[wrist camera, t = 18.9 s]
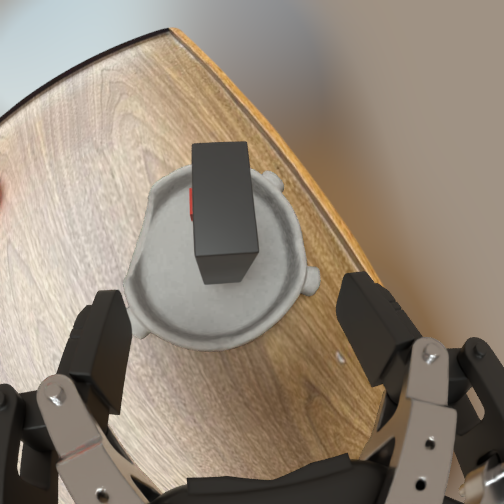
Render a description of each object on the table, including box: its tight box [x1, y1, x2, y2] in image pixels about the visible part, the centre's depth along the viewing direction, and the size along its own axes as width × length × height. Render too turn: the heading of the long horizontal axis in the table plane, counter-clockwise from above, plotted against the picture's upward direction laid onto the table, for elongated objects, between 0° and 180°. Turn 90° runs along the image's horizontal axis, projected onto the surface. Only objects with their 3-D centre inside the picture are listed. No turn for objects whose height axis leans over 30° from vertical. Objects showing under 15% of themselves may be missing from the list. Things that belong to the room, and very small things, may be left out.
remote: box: [189, 141, 259, 285], centre depth 15 cm, size 2×5×8 cm, turn 6°
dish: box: [123, 164, 321, 352], centre depth 21 cm, size 14×14×5 cm
